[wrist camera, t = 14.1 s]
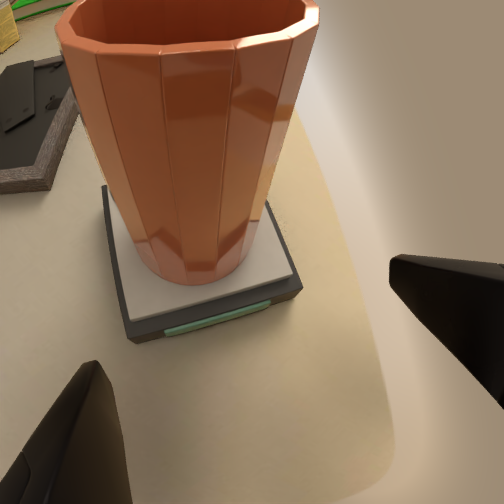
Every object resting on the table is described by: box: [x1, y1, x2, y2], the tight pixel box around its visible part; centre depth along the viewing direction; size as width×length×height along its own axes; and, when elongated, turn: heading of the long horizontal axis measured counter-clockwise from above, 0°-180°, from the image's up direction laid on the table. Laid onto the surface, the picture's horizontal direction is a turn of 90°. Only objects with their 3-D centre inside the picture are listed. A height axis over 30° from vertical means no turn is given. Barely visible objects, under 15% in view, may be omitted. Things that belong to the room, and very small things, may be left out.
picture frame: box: [0, 55, 79, 194], centre depth 22 cm, size 13×2×18 cm
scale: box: [102, 185, 303, 344], centre depth 19 cm, size 10×10×3 cm
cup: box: [54, 0, 320, 286], centre depth 12 cm, size 7×7×13 cm
